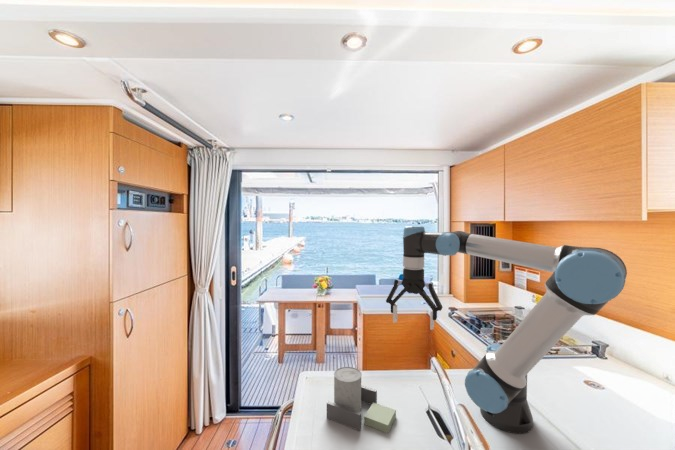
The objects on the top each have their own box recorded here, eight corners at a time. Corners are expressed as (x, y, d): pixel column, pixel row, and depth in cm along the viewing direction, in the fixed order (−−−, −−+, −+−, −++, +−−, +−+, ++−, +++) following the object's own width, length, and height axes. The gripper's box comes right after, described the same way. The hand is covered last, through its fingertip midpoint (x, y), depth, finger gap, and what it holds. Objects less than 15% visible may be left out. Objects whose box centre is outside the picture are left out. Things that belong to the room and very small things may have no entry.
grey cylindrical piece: (359, 420, 93) (359, 383, 93) (331, 416, 95) (331, 380, 95) (362, 402, 102) (363, 368, 102) (336, 398, 104) (337, 365, 104)
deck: (395, 417, 94) (395, 409, 94) (387, 433, 87) (388, 425, 87) (373, 409, 98) (373, 402, 98) (364, 424, 91) (364, 416, 91)
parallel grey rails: (376, 403, 101) (376, 390, 101) (359, 431, 88) (359, 415, 88) (346, 393, 107) (346, 380, 107) (326, 417, 94) (326, 403, 94)
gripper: (451, 269, 102) (450, 327, 102) (384, 263, 114) (384, 316, 114) (448, 272, 95) (447, 335, 96) (377, 266, 107) (377, 322, 108)
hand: (413, 325), depth 105 cm, fingers open, 13 cm apart
